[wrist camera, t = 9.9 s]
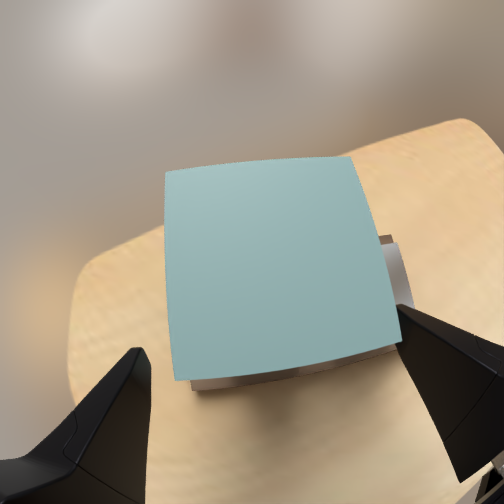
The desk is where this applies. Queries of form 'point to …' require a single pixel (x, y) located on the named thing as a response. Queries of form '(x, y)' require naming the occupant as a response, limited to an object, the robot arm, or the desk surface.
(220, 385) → the base plate
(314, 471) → the desk surface
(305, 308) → the pillar block
